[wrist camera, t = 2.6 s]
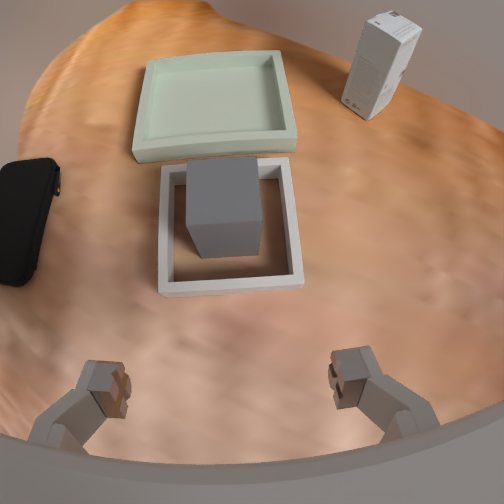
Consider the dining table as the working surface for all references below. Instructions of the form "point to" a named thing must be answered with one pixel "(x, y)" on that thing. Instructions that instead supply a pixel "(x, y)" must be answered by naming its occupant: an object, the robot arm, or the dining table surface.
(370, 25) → the skincare box
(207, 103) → the tray
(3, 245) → the carrying case or bag
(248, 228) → the matte grey square block
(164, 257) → the frame
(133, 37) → the dining table surface
